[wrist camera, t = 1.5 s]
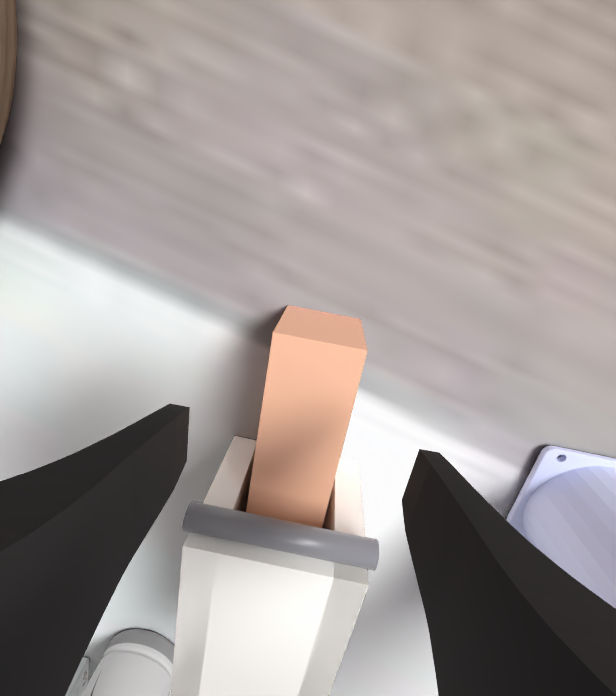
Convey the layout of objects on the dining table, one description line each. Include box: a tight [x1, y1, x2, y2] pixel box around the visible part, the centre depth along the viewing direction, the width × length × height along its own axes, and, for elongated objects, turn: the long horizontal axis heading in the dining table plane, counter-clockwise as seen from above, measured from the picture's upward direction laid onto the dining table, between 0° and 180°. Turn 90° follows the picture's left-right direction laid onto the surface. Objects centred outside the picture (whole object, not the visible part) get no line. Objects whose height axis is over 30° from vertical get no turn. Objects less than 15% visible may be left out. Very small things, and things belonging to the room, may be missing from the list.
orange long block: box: [246, 305, 367, 528], centre depth 20 cm, size 4×16×5 cm, turn 170°
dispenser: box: [171, 436, 379, 696], centre depth 21 cm, size 8×15×8 cm, turn 169°
